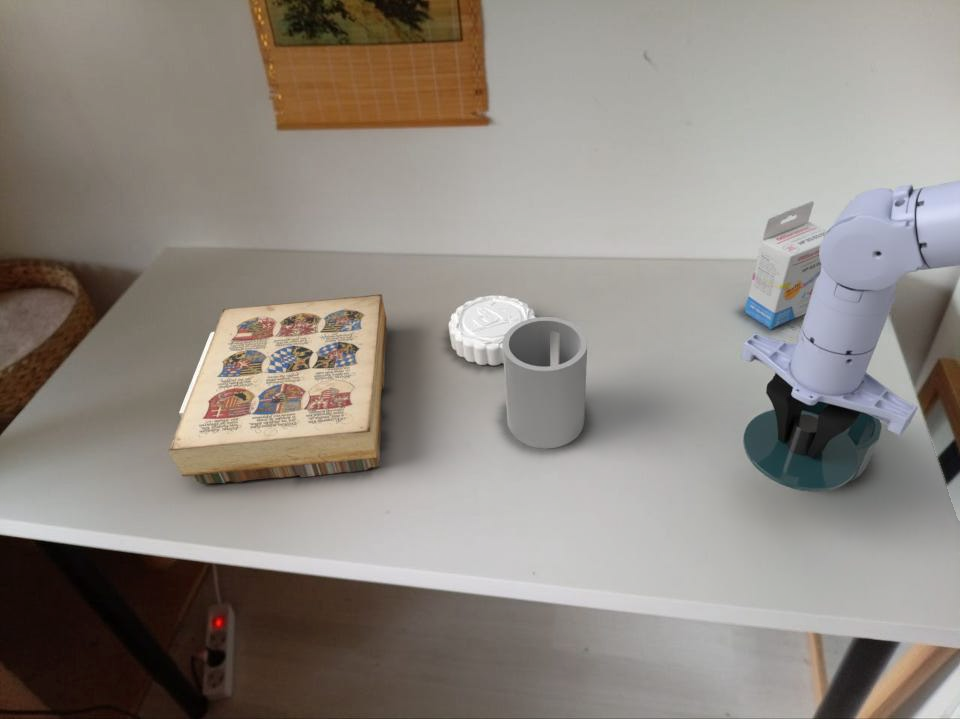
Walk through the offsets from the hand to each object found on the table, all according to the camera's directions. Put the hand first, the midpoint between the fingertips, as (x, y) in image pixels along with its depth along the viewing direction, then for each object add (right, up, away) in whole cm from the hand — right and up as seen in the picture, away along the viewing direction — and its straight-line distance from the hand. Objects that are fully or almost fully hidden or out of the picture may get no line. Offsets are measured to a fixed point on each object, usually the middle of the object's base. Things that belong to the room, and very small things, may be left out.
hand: (800, 443), depth 65 cm
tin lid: (0, -1, 0) cm, 1 cm away
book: (-55, +3, +23) cm, 60 cm away
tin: (+6, -2, +10) cm, 12 cm away
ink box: (+11, +15, +29) cm, 34 cm away
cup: (-23, +1, +16) cm, 28 cm away
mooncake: (-29, +11, +29) cm, 42 cm away
